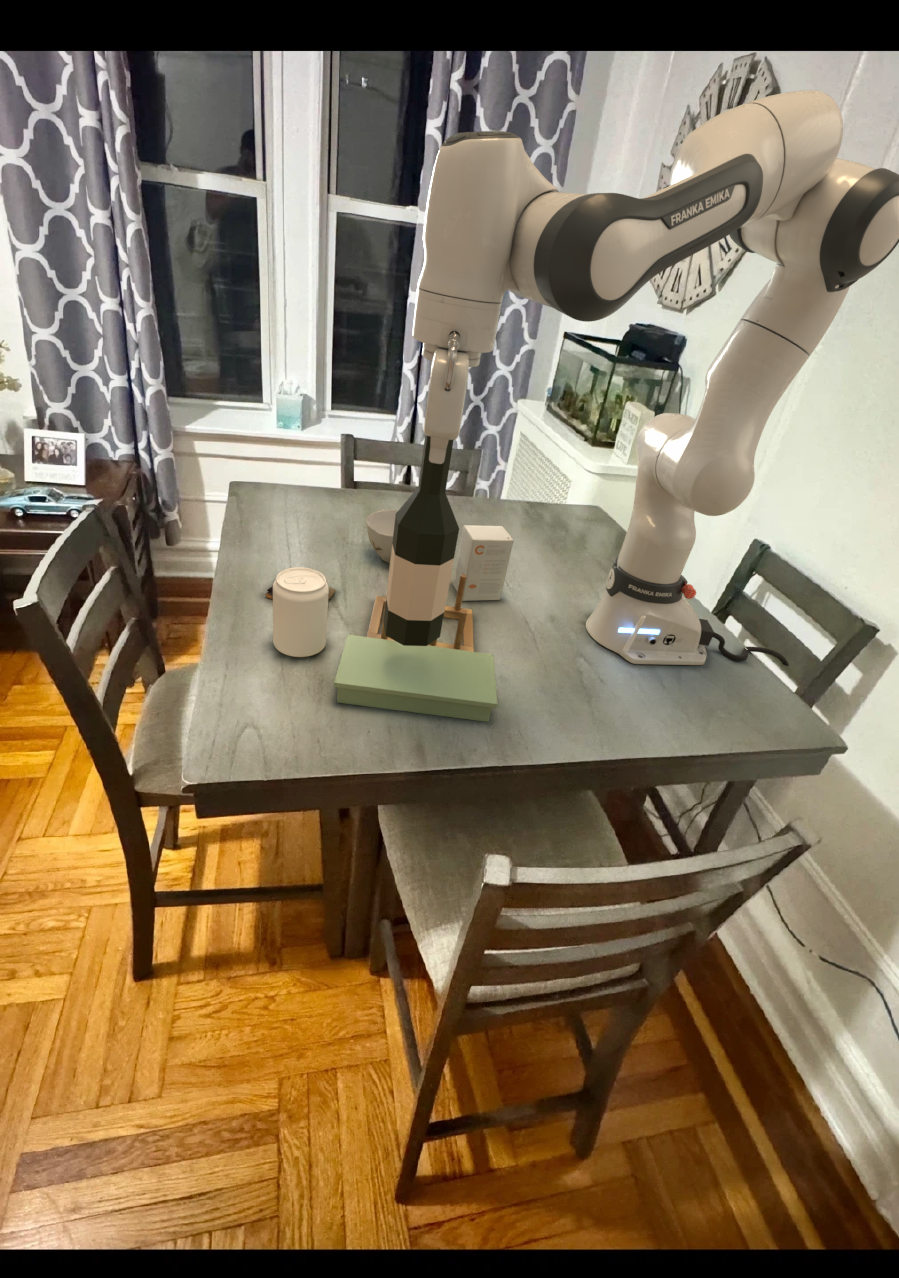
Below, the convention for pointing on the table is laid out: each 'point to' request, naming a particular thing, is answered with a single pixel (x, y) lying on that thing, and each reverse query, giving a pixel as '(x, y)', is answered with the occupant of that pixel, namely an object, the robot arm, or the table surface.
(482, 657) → the green low rectangular block
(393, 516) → the teacup
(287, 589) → the beverage can
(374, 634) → the dish rack
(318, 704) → the table surface
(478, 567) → the small box
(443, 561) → the wine bottle
